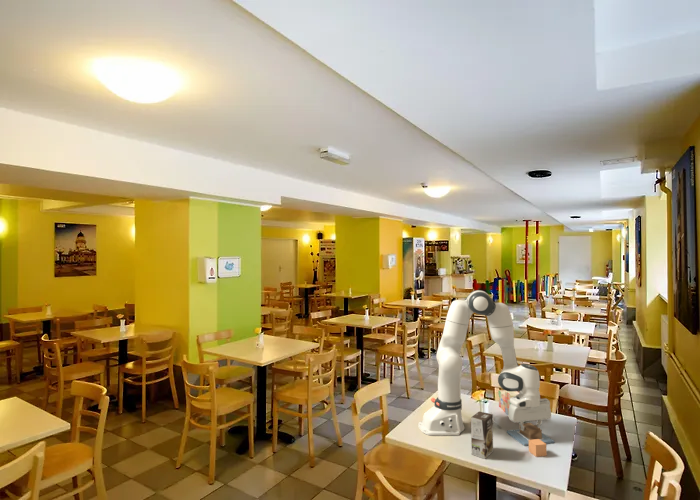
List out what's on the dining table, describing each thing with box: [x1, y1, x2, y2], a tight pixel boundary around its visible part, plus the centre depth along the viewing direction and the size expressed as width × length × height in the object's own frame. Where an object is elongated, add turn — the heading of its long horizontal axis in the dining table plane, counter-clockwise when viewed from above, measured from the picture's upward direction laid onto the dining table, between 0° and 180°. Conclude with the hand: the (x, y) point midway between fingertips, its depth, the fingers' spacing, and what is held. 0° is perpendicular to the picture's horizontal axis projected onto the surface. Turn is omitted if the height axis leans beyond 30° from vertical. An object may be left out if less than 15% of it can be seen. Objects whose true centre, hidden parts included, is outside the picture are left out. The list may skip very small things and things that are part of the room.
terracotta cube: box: [528, 439, 547, 458], centre depth 173 cm, size 5×5×5 cm
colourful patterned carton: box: [497, 389, 527, 423], centre depth 216 cm, size 21×6×12 cm, turn 1°
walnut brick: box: [518, 422, 543, 440], centre depth 188 cm, size 6×8×4 cm
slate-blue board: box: [506, 428, 555, 447], centre depth 188 cm, size 15×14×1 cm
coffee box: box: [470, 411, 494, 460], centre depth 174 cm, size 9×6×16 cm
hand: (530, 429), depth 188 cm, fingers closed on walnut brick, 6 cm apart
